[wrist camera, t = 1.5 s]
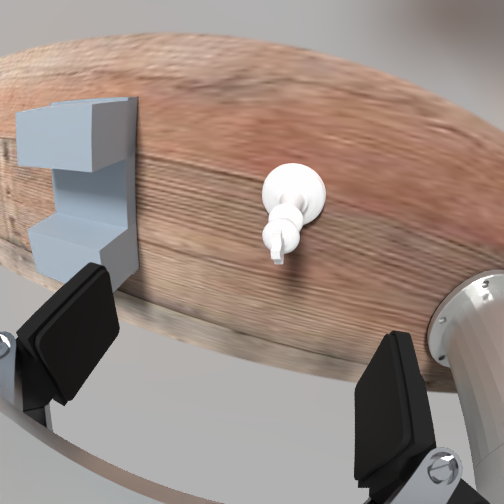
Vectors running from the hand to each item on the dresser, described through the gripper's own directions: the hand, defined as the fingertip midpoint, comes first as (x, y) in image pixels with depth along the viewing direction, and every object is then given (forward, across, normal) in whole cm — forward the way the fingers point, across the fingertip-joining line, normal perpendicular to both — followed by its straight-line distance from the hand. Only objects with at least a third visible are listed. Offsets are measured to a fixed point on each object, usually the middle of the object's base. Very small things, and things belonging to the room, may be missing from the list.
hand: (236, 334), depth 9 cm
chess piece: (+16, -1, 0) cm, 16 cm away
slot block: (+16, +18, +2) cm, 24 cm away
